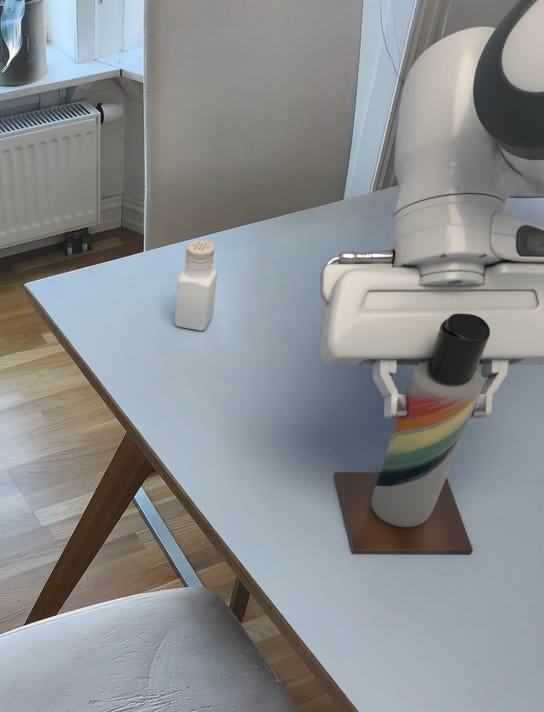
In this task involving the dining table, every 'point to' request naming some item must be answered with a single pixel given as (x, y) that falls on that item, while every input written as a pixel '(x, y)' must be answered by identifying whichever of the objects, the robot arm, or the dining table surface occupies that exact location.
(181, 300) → the salt shaker
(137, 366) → the dining table surface
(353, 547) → the walnut board
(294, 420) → the dining table surface
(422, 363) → the lotion bottle
